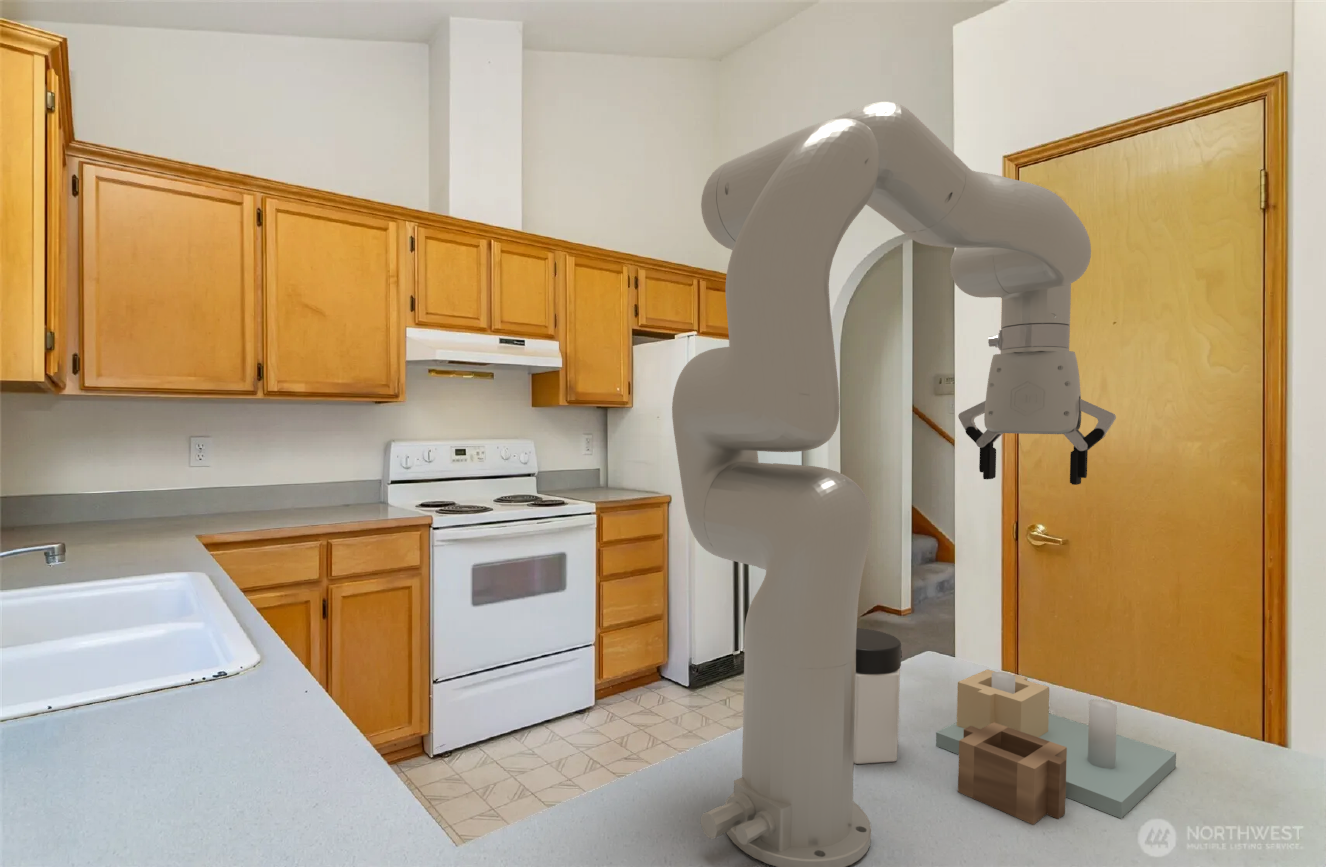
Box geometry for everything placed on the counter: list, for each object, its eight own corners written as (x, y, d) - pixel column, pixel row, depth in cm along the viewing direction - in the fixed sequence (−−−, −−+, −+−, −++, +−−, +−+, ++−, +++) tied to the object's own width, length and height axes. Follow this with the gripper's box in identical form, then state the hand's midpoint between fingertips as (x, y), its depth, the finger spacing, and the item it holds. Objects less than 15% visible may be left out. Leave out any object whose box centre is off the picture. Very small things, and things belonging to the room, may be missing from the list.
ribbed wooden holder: (1045, 829, 61) (1046, 773, 61) (948, 787, 68) (949, 736, 68) (1076, 803, 66) (1078, 751, 66) (982, 766, 73) (983, 718, 73)
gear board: (1121, 818, 63) (1123, 736, 63) (936, 745, 77) (937, 678, 77) (1175, 767, 73) (1177, 696, 73) (1003, 710, 87) (1004, 651, 87)
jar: (917, 751, 76) (920, 641, 76) (874, 773, 71) (876, 656, 70) (848, 723, 83) (850, 622, 83) (804, 741, 78) (806, 634, 77)
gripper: (952, 344, 89) (949, 478, 89) (1112, 334, 77) (1108, 488, 78) (969, 349, 94) (966, 475, 94) (1121, 341, 83) (1117, 484, 83)
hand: (1030, 481), depth 86 cm, fingers open, 9 cm apart
